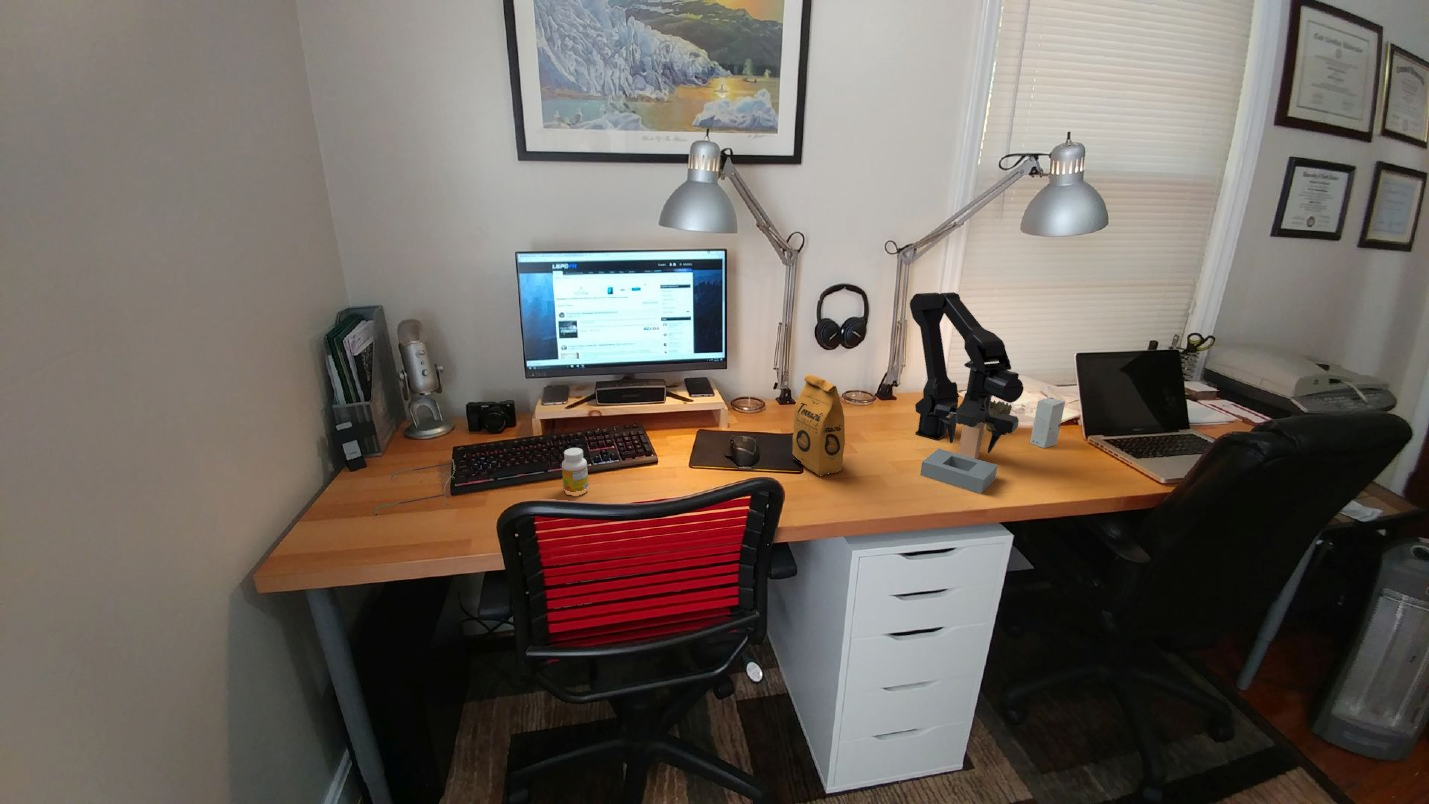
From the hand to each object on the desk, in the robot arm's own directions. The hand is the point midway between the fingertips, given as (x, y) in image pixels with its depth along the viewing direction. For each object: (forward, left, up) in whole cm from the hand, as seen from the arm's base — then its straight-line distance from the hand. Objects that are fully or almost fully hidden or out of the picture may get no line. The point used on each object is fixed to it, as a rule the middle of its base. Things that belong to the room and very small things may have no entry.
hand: (969, 447), depth 151 cm
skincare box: (+12, +22, -3) cm, 25 cm away
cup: (-1, +22, -3) cm, 22 cm away
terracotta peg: (0, 0, -3) cm, 3 cm away
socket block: (+2, -13, -2) cm, 13 cm away
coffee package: (-26, -30, -3) cm, 40 cm away
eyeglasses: (-84, -100, -3) cm, 131 cm away
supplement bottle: (-59, -77, -3) cm, 97 cm away
